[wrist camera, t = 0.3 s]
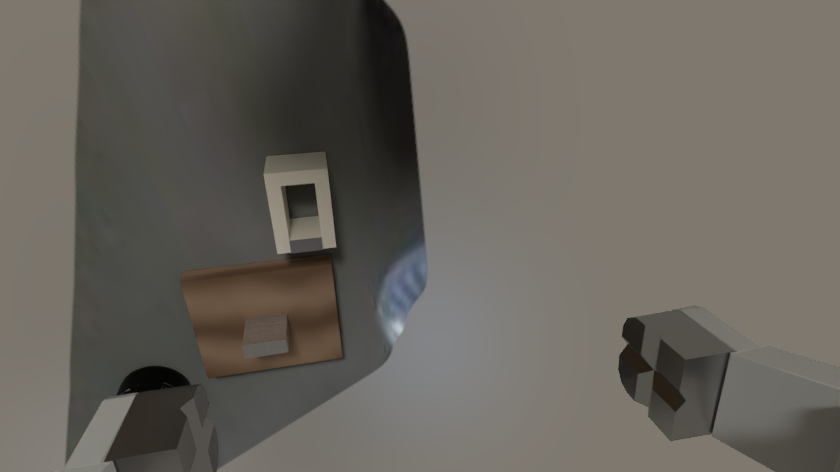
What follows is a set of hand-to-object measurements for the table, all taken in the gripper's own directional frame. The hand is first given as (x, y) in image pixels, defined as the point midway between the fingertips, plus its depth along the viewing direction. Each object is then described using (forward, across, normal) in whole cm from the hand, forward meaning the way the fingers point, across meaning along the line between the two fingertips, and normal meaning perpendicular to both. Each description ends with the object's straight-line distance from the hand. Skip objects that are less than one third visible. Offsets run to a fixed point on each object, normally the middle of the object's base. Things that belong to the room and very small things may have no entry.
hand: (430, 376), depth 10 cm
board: (+41, +9, +20) cm, 46 cm away
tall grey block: (+39, +9, +21) cm, 45 cm away
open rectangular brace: (+39, +4, +7) cm, 40 cm away
